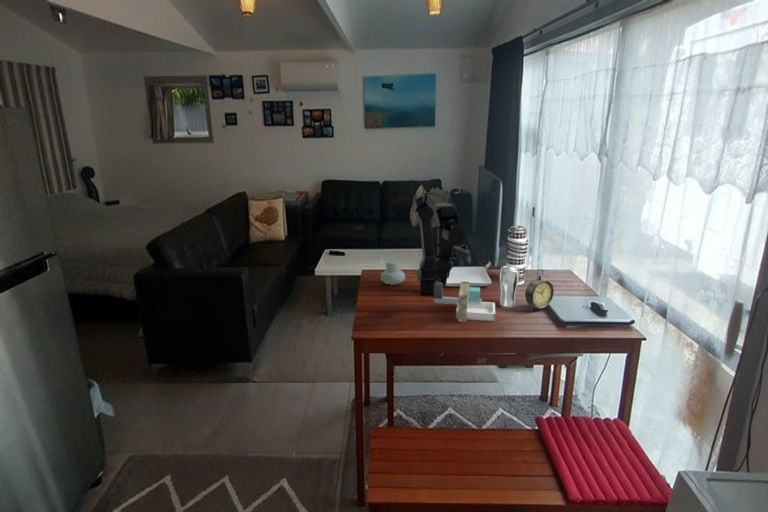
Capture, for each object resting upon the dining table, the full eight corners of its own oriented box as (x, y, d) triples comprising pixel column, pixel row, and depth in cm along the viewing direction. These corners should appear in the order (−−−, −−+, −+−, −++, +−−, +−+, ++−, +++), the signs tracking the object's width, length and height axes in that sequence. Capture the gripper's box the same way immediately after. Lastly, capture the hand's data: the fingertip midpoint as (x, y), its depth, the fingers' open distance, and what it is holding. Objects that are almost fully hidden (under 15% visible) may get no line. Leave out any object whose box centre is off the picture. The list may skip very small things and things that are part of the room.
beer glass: (517, 308, 178) (519, 272, 174) (498, 307, 179) (500, 271, 175) (516, 301, 184) (518, 266, 180) (498, 300, 186) (500, 265, 181)
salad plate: (441, 289, 200) (441, 282, 199) (439, 273, 220) (439, 266, 219) (491, 289, 198) (492, 282, 197) (484, 273, 219) (484, 266, 217)
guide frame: (458, 321, 168) (458, 296, 165) (460, 305, 182) (461, 281, 179) (466, 322, 168) (467, 296, 165) (468, 305, 182) (469, 281, 179)
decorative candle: (527, 285, 202) (532, 229, 194) (506, 285, 202) (509, 229, 195) (522, 277, 211) (525, 224, 203) (501, 278, 211) (504, 224, 203)
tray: (455, 318, 171) (455, 311, 170) (457, 307, 181) (457, 300, 180) (494, 321, 168) (495, 314, 167) (494, 309, 178) (494, 302, 177)
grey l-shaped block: (433, 303, 175) (434, 284, 172) (434, 300, 178) (435, 281, 175) (481, 306, 171) (482, 287, 169) (481, 303, 174) (482, 284, 172)
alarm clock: (531, 314, 173) (535, 273, 168) (521, 309, 178) (524, 269, 173) (553, 308, 178) (556, 268, 173) (542, 303, 182) (545, 264, 178)
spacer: (468, 301, 171) (468, 291, 170) (468, 297, 175) (469, 287, 174) (479, 301, 170) (480, 291, 169) (479, 297, 174) (480, 287, 173)
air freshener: (408, 283, 207) (408, 261, 204) (396, 288, 201) (396, 266, 198) (389, 277, 214) (389, 257, 211) (377, 282, 208) (377, 261, 205)
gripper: (466, 245, 158) (466, 289, 161) (469, 235, 175) (469, 275, 179) (433, 245, 160) (434, 288, 164) (440, 235, 178) (440, 274, 181)
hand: (445, 281), depth 172 cm, fingers open, 9 cm apart
